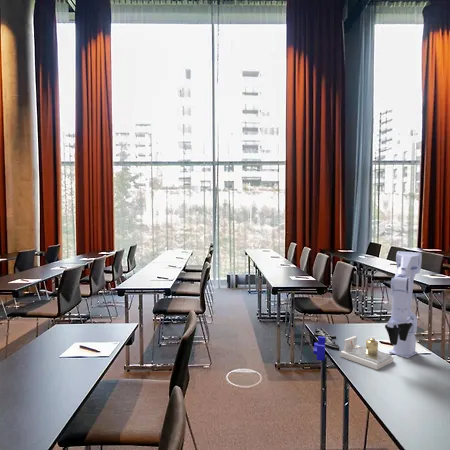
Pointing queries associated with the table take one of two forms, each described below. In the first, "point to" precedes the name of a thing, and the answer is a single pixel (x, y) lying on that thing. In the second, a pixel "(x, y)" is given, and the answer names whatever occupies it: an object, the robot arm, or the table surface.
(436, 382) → the table surface
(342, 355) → the scale base
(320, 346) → the blue stepped block
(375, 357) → the pan
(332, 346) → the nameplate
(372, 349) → the brass weight
